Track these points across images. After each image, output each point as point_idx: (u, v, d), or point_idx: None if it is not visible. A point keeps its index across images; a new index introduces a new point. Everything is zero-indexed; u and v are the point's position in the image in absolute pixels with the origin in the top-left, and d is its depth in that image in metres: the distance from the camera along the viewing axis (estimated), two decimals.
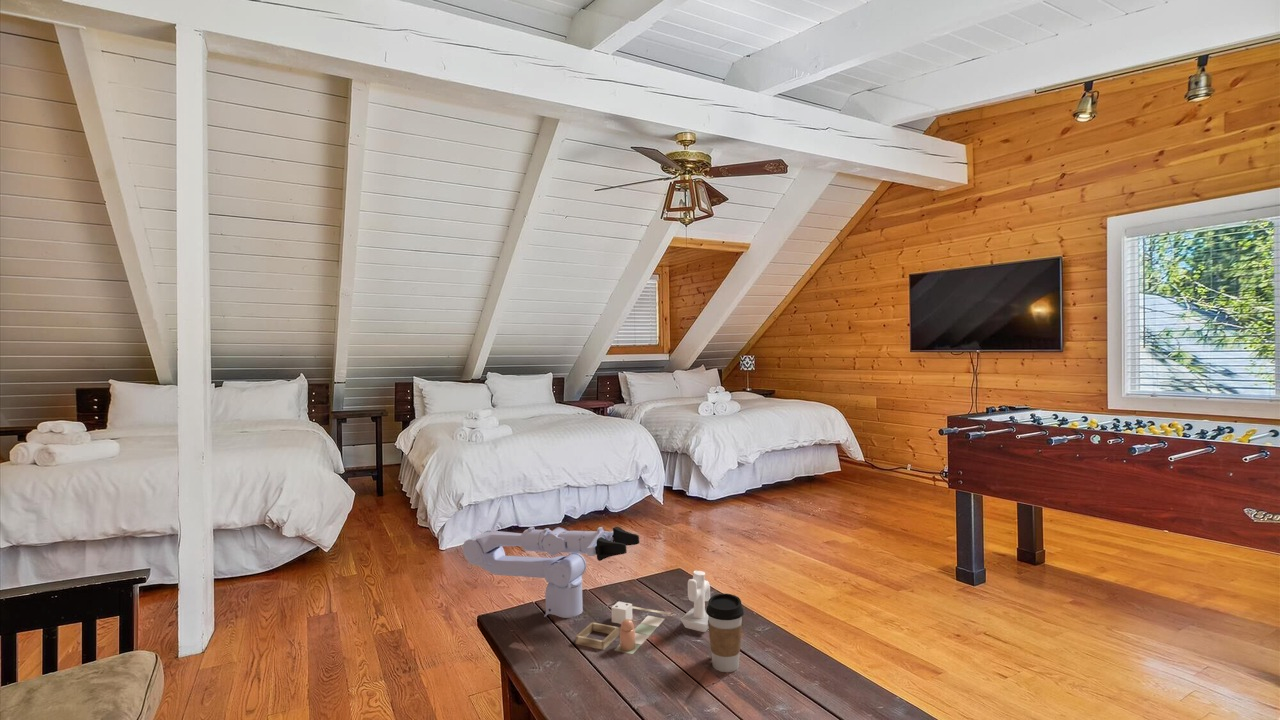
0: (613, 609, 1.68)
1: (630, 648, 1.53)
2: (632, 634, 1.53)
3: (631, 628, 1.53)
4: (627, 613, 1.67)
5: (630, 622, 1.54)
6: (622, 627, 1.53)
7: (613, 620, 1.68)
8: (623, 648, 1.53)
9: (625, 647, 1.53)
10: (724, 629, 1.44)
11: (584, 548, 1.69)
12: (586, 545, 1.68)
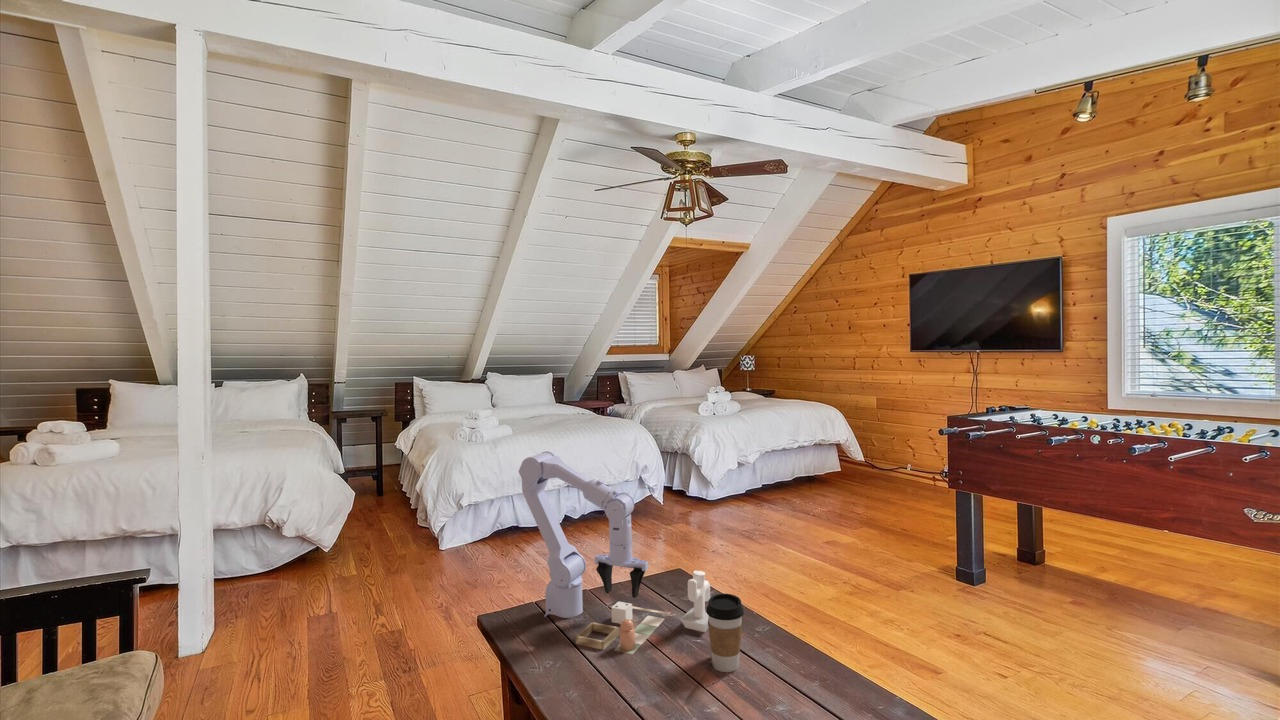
0: (613, 609, 1.68)
1: (630, 648, 1.53)
2: (632, 634, 1.53)
3: (631, 628, 1.53)
4: (627, 613, 1.67)
5: (630, 622, 1.54)
6: (622, 627, 1.53)
7: (613, 620, 1.68)
8: (623, 648, 1.53)
9: (625, 647, 1.53)
10: (724, 629, 1.44)
11: (629, 548, 1.66)
12: (631, 550, 1.67)
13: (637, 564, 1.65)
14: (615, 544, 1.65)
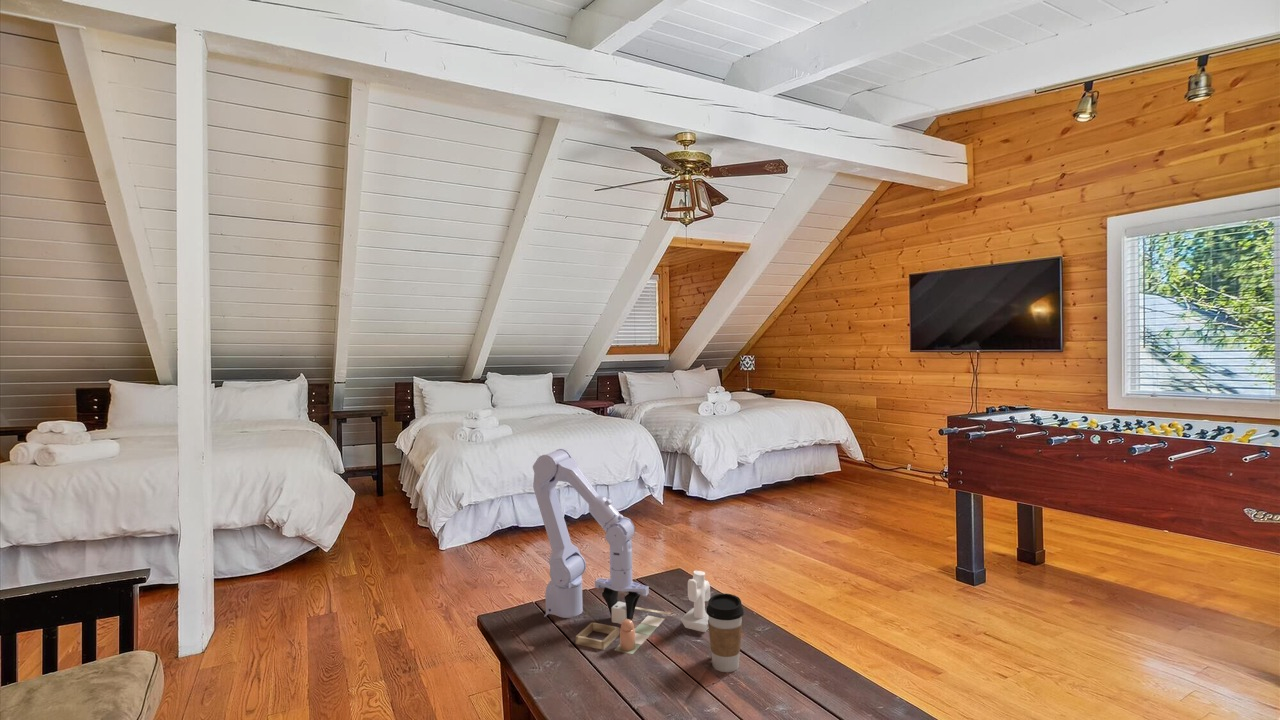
0: (613, 609, 1.68)
1: (630, 648, 1.53)
2: (632, 634, 1.53)
3: (631, 628, 1.53)
4: None
5: (630, 622, 1.54)
6: (622, 627, 1.53)
7: (613, 620, 1.68)
8: (623, 648, 1.53)
9: (625, 647, 1.53)
10: (724, 629, 1.44)
11: (629, 573, 1.67)
12: (631, 575, 1.67)
13: (637, 589, 1.65)
14: (616, 569, 1.66)
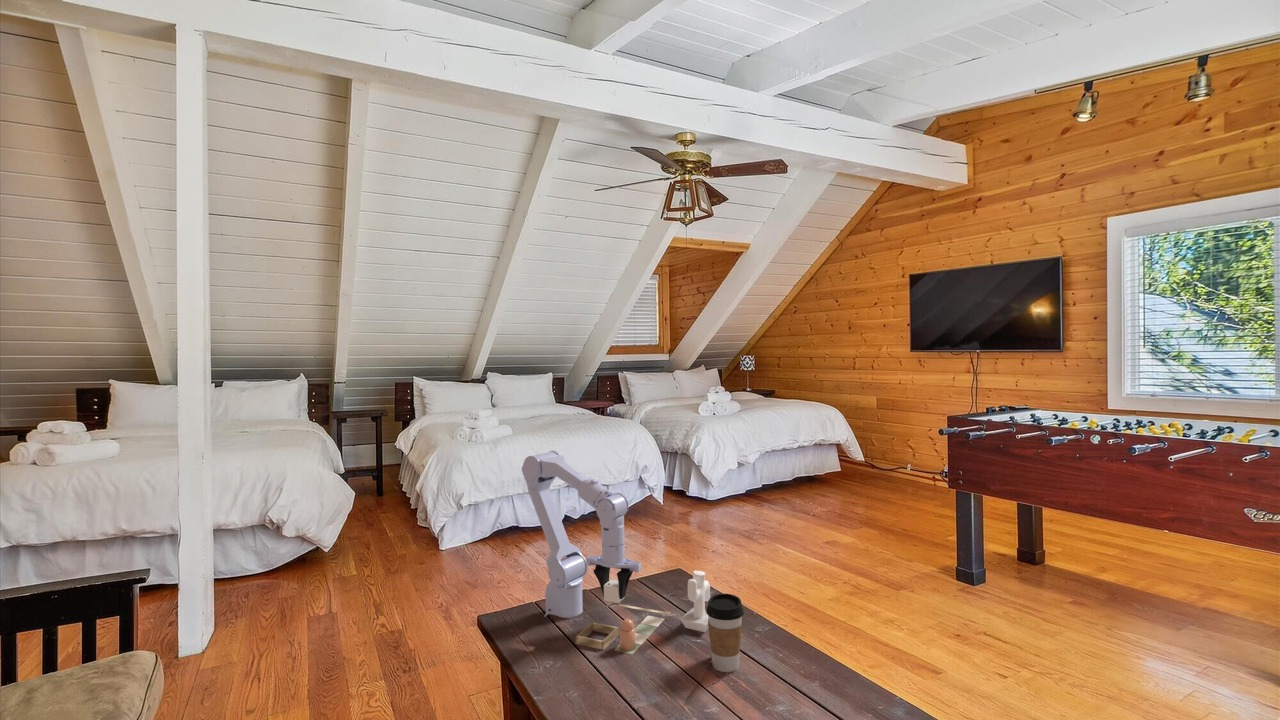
0: (605, 587, 1.64)
1: (630, 648, 1.53)
2: (632, 634, 1.53)
3: (631, 628, 1.53)
4: None
5: (630, 622, 1.54)
6: (622, 627, 1.53)
7: (605, 598, 1.64)
8: (623, 648, 1.53)
9: (625, 647, 1.53)
10: (724, 629, 1.44)
11: (621, 549, 1.63)
12: (623, 551, 1.64)
13: (630, 565, 1.62)
14: (605, 545, 1.63)
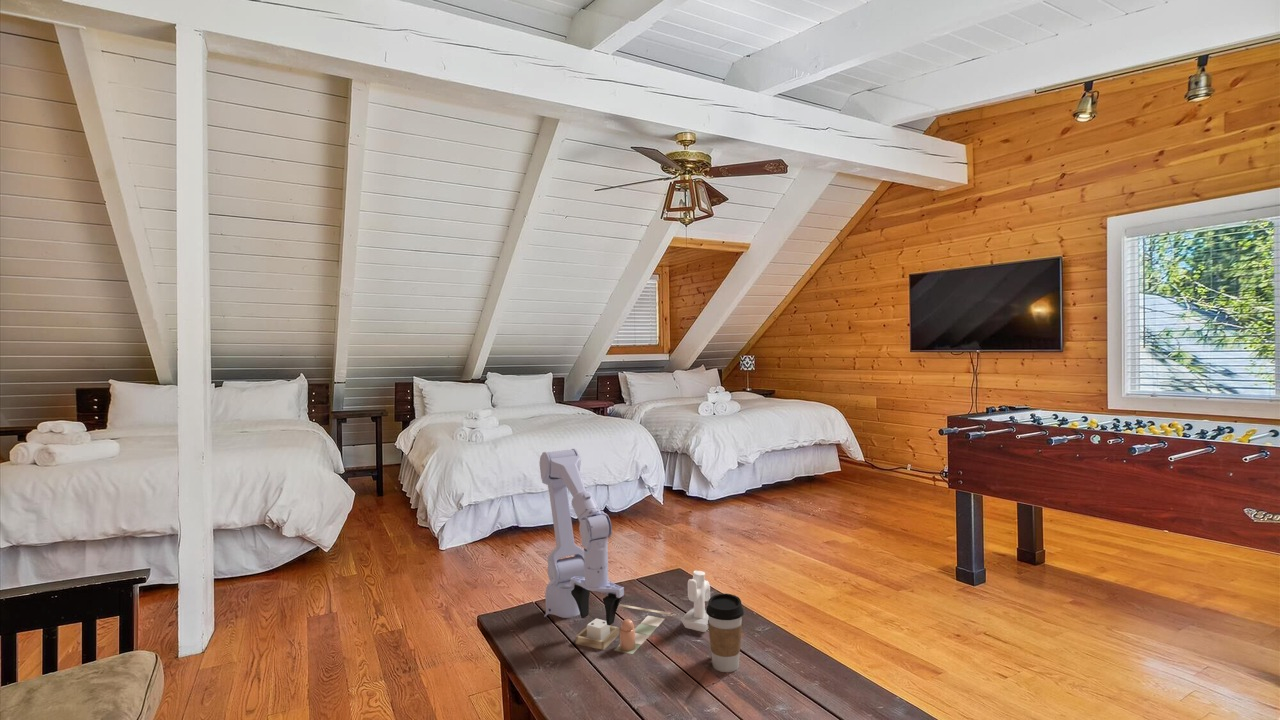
0: (588, 627, 1.58)
1: (630, 648, 1.53)
2: (632, 634, 1.53)
3: (631, 628, 1.53)
4: (603, 632, 1.57)
5: (630, 622, 1.54)
6: (622, 627, 1.53)
7: None
8: (623, 648, 1.53)
9: (625, 647, 1.53)
10: (724, 629, 1.44)
11: (604, 572, 1.56)
12: (606, 574, 1.57)
13: (611, 590, 1.54)
14: (585, 565, 1.57)
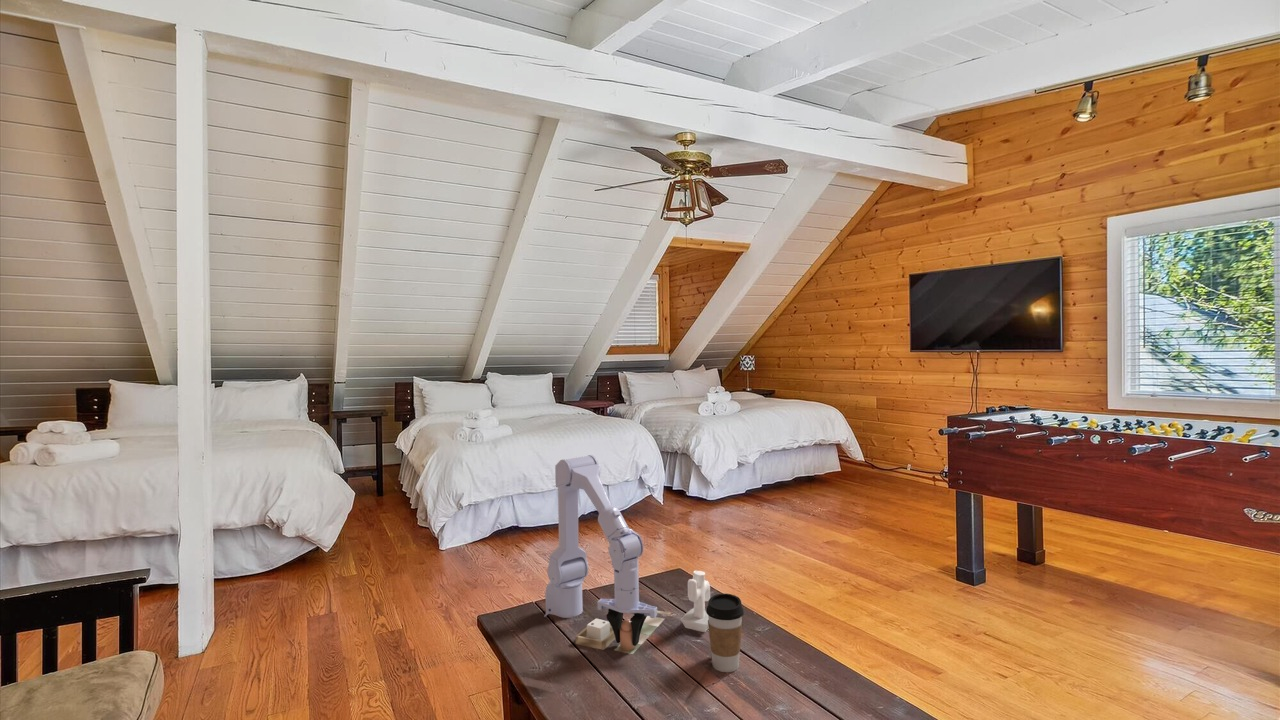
0: (588, 627, 1.58)
1: (629, 648, 1.53)
2: (631, 634, 1.53)
3: (631, 628, 1.53)
4: (603, 632, 1.57)
5: (630, 622, 1.54)
6: (622, 627, 1.53)
7: None
8: (622, 648, 1.53)
9: (624, 647, 1.53)
10: (724, 629, 1.44)
11: (636, 593, 1.52)
12: (638, 595, 1.53)
13: (645, 611, 1.51)
14: (616, 587, 1.52)
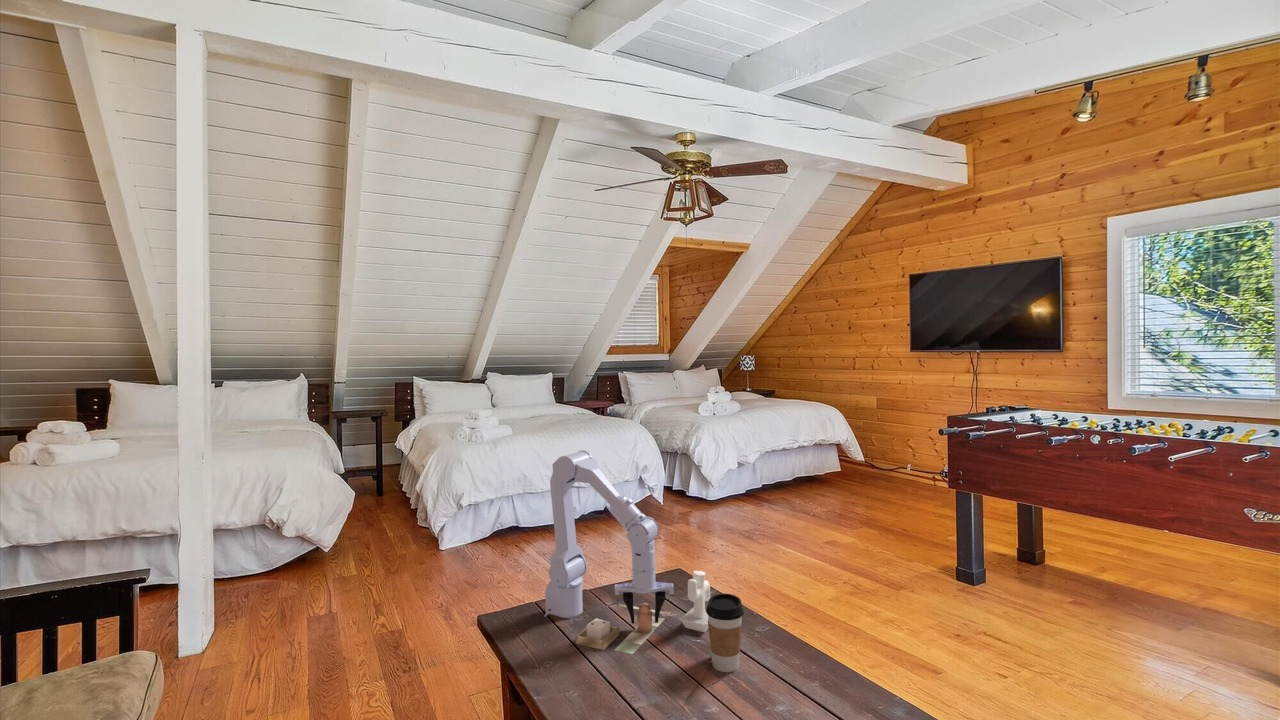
0: (588, 627, 1.58)
1: (649, 629, 1.62)
2: (650, 616, 1.62)
3: (649, 610, 1.63)
4: (603, 632, 1.57)
5: (648, 605, 1.63)
6: (641, 610, 1.62)
7: None
8: (642, 630, 1.62)
9: (644, 629, 1.62)
10: (724, 629, 1.44)
11: (654, 573, 1.62)
12: None
13: (665, 588, 1.62)
14: (637, 570, 1.60)
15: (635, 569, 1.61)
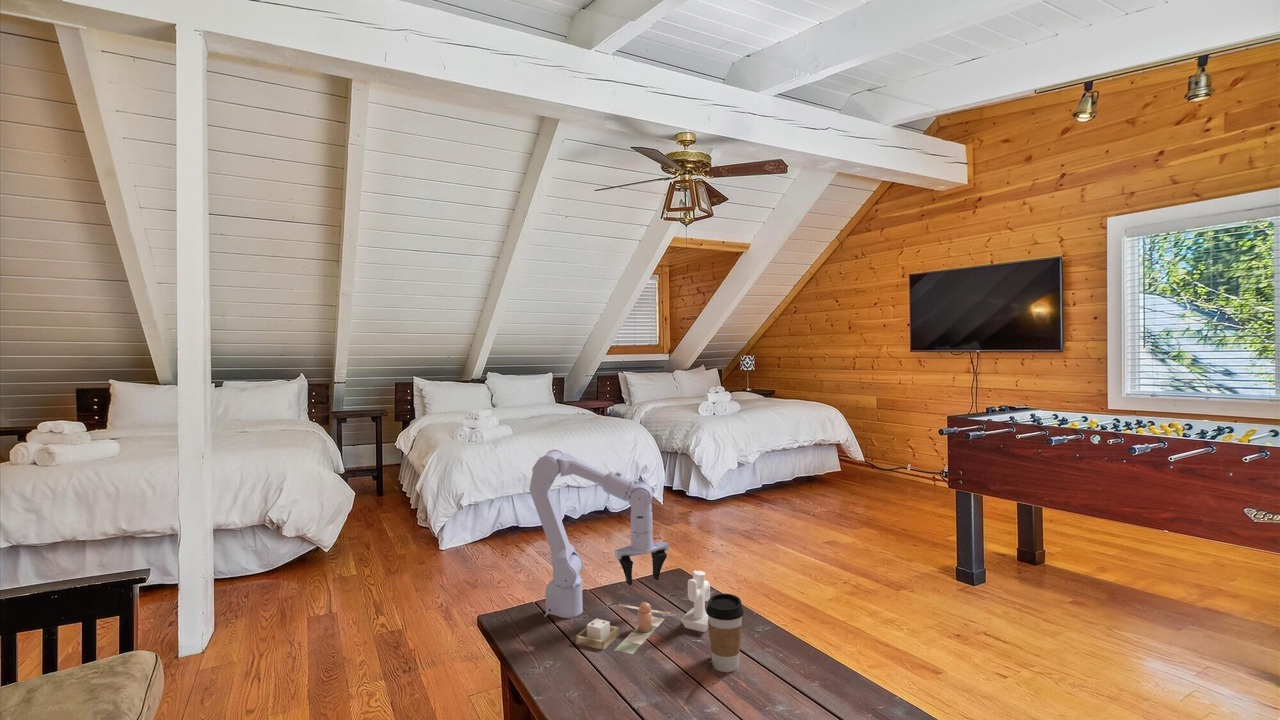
0: (588, 627, 1.58)
1: (648, 629, 1.62)
2: (650, 615, 1.62)
3: (649, 610, 1.63)
4: (603, 632, 1.57)
5: (648, 604, 1.63)
6: (641, 609, 1.62)
7: None
8: (642, 629, 1.62)
9: (644, 628, 1.62)
10: (724, 629, 1.44)
11: None
12: None
13: (662, 546, 1.73)
14: (639, 532, 1.69)
15: (637, 531, 1.69)
